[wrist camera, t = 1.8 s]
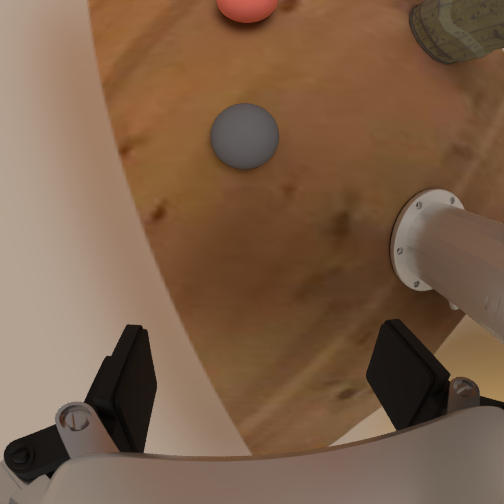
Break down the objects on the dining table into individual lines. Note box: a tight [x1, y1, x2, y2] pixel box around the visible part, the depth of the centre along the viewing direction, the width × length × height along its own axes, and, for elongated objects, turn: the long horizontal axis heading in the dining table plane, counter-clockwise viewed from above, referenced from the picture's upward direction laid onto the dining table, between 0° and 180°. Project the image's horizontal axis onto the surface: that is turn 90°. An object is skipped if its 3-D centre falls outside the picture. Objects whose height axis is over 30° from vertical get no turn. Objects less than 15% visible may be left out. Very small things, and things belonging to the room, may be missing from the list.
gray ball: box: [211, 103, 279, 169], centre depth 23 cm, size 6×6×6 cm
